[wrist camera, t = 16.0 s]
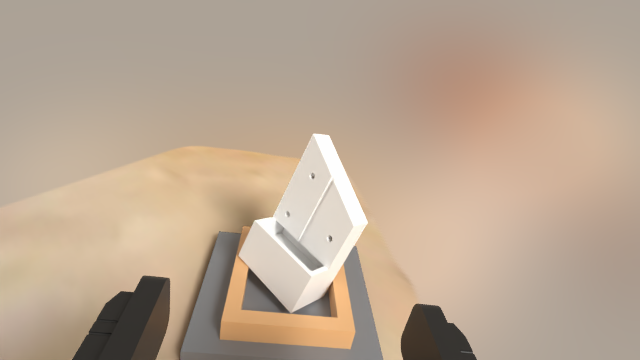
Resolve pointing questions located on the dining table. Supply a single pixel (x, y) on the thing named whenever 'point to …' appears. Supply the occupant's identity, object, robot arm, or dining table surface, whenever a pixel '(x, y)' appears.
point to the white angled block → (307, 229)
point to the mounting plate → (277, 315)
